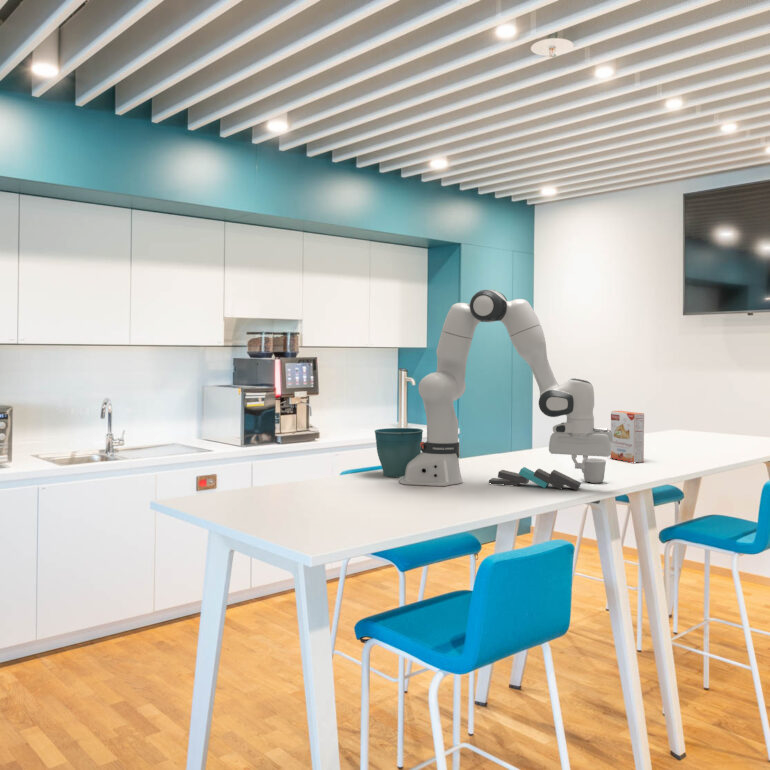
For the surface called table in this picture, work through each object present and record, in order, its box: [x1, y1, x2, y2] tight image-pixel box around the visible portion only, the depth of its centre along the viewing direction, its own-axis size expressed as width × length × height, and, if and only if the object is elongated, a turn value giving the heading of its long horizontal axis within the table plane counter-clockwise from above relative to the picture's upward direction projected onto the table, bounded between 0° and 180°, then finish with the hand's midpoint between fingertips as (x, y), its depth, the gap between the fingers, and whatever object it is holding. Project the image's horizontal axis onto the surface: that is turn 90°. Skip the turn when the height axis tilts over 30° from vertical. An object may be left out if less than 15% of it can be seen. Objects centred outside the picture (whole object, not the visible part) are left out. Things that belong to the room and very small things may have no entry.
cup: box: [581, 457, 607, 484], centre depth 263 cm, size 11×8×8 cm
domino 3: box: [534, 468, 565, 490], centre depth 252 cm, size 2×5×10 cm
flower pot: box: [374, 427, 424, 478], centre depth 276 cm, size 18×18×17 cm
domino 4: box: [549, 469, 582, 491], centre depth 250 cm, size 2×5×10 cm
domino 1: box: [488, 477, 521, 487], centre depth 258 cm, size 2×5×10 cm
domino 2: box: [497, 469, 530, 485], centre depth 257 cm, size 2×5×10 cm
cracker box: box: [610, 410, 645, 464], centre depth 314 cm, size 14×6×21 cm, turn 25°
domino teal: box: [518, 466, 550, 489], centre depth 254 cm, size 2×5×10 cm
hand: (579, 468), depth 248 cm, fingers closed
